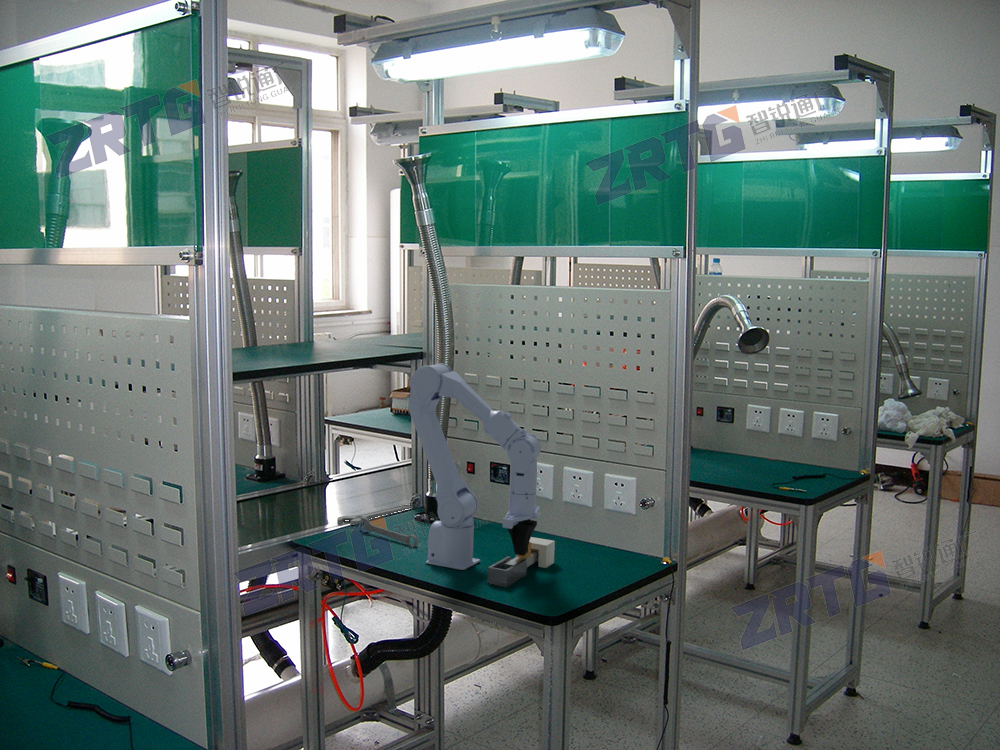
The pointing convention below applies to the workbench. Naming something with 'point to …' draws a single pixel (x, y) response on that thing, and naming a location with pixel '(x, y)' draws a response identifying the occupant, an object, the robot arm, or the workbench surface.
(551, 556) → the socket block
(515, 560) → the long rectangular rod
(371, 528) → the combination wrench
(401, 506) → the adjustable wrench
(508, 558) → the sleeve
